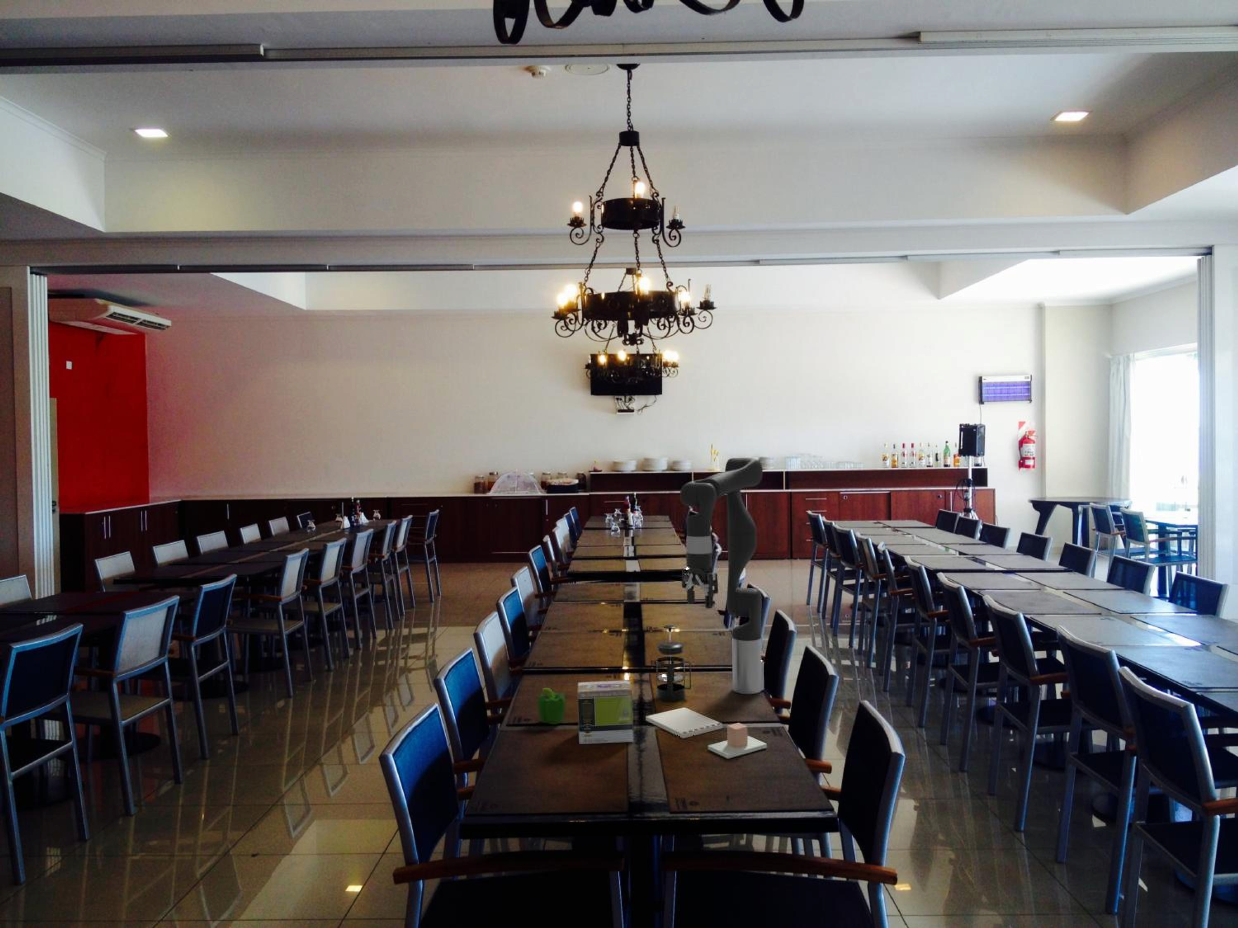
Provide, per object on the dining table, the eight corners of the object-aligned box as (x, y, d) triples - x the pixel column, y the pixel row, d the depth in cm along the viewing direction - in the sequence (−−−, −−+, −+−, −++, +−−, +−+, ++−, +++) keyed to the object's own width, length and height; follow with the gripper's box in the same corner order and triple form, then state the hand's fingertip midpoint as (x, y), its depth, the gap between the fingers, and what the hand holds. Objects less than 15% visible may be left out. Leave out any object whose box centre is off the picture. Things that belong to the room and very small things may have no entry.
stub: (708, 749, 229) (707, 726, 229) (746, 738, 237) (746, 716, 236) (727, 758, 223) (727, 735, 222) (766, 747, 230) (766, 725, 230)
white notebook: (646, 720, 253) (646, 715, 253) (684, 711, 261) (684, 706, 261) (682, 738, 238) (682, 733, 238) (722, 727, 246) (722, 723, 246)
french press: (653, 701, 271) (651, 628, 270) (655, 692, 280) (654, 622, 279) (690, 702, 269) (689, 629, 268) (691, 693, 279) (690, 622, 278)
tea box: (631, 730, 245) (630, 678, 245) (633, 743, 235) (632, 689, 235) (578, 732, 245) (577, 680, 244) (578, 744, 235) (577, 691, 234)
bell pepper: (572, 719, 255) (571, 686, 255) (556, 728, 248) (555, 693, 248) (548, 715, 260) (548, 682, 259) (532, 723, 252) (531, 689, 252)
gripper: (724, 552, 250) (725, 608, 250) (694, 547, 262) (695, 600, 262) (704, 554, 246) (704, 611, 246) (674, 549, 258) (675, 603, 258)
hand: (699, 605), depth 254 cm, fingers open, 8 cm apart
